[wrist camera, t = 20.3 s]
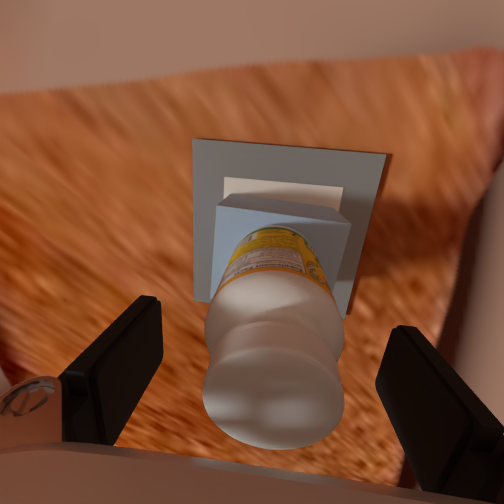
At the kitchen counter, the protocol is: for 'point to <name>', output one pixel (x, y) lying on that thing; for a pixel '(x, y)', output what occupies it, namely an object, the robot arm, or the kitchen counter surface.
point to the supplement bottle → (274, 344)
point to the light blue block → (284, 214)
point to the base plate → (282, 195)
